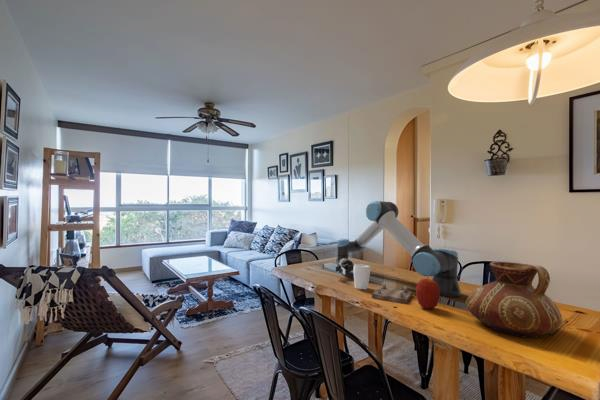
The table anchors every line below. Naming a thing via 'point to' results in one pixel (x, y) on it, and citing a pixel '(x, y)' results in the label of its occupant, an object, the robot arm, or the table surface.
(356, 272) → the cup
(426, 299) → the apple
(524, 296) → the jug
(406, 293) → the peg stand
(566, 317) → the table surface
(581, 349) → the table surface
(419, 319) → the table surface
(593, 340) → the table surface
